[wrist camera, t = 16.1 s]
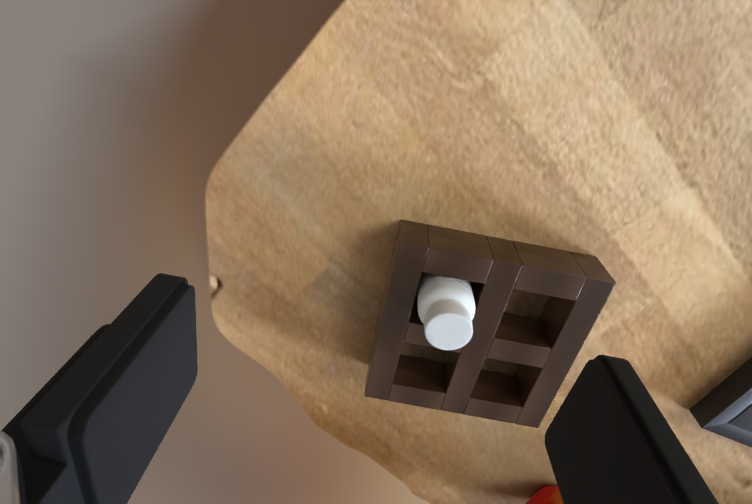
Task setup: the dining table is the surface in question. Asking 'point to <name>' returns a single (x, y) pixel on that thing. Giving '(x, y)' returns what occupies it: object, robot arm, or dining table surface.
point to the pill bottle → (446, 310)
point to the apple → (547, 496)
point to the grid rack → (485, 324)
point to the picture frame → (729, 407)
